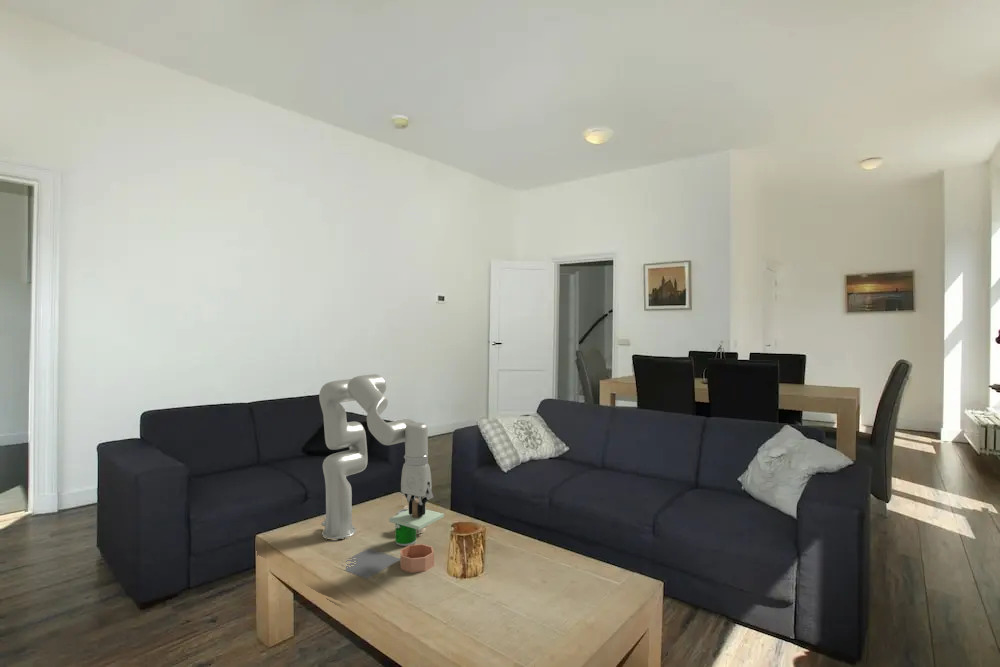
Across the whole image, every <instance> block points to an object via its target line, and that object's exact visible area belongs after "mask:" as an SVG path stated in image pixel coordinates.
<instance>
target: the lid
mask: <svg viewBox="0 0 1000 667" xmlns="http://www.w3.org/2000/svg"><path fill="white" fill-rule="evenodd" d="M418 505H419V499H415V500H414V501H412V514H411V515H410V514H409V510H407V511H405V512H403V513H400V514H398V515H396V514H395V515H394V516H392V517H390V518H389V519H388V522H389V523H393V524H395V523H396V524H400V525H403V526H407V527H411V528H414V529H418V530H420V529H422V528H423V527H425V526H427V525H428V526H429V525H432V524H434V523H435V522H436V521H438V520H441V519H443V518H444V517H445V513H442V512H438V511H435V510H434V511H433V510H430V509H427V508H426V509H425V515H423V516H420V517H418ZM428 526H427V527H428Z"/></svg>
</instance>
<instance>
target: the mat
mask: <svg viewBox="0 0 1000 667" xmlns="http://www.w3.org/2000/svg"><path fill="white" fill-rule="evenodd" d="M351 557H352V558H351ZM351 557H349V558H347V559H352V560H347V561H351V562H354V561H356V562H354V563H356V564H354V563H350V564H347V565H350V566H351V565H354V566H351V567H349V566H346V570H343V571H345V572H347V573H351V574H353V575H356V576H358V577H361V578H364V579H366V580H368V579H369V578H371V577H373V576H374V575H376V574H378V573H380V572H382V571H384V570H386V569H387V568H389V567H391V566H392V565H394V564H396V563H398V562H399V561H400V558H399V557H396V556H394V555H391V554H387V553H384V552H380V551H377V550H374V549H371V548H366V549H365V550H363V551H360V552H358V553H357V554H355V555H353V556H351ZM353 558H356V559H353ZM347 561H346V562H347ZM342 566H343V565H342ZM347 567H348V568H347Z"/></svg>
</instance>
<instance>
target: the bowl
mask: <svg viewBox="0 0 1000 667" xmlns="http://www.w3.org/2000/svg"><path fill="white" fill-rule="evenodd" d="M399 552H400V553H399V554H400V555H399V556H400V562H399V564H400V569H401V570H403V571H405V572H407V573H420V572H421V573H422V572H427V571H428V570H430V569H431V568H433V567H435V550H434V547H433V546H432V545H427V544H425V543H417V544H413V545H409V546H404V547H403V548H402V549H399Z"/></svg>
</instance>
